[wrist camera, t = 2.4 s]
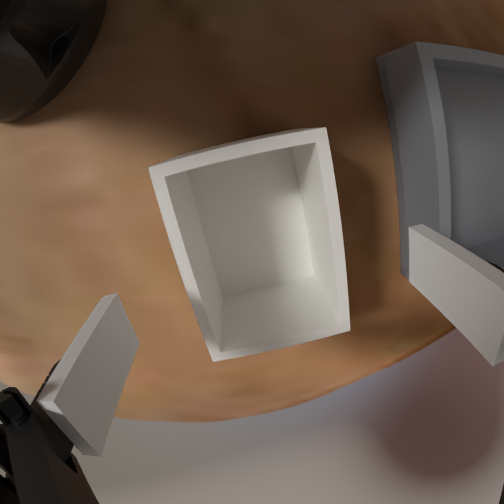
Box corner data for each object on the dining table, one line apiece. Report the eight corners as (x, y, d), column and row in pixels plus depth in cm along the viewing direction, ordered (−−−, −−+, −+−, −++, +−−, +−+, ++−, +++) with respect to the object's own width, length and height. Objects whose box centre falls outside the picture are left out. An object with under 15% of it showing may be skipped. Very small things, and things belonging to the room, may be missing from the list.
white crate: (175, 156, 19) (148, 167, 13) (294, 128, 19) (326, 127, 13) (216, 300, 23) (213, 361, 17) (319, 277, 23) (350, 330, 17)
